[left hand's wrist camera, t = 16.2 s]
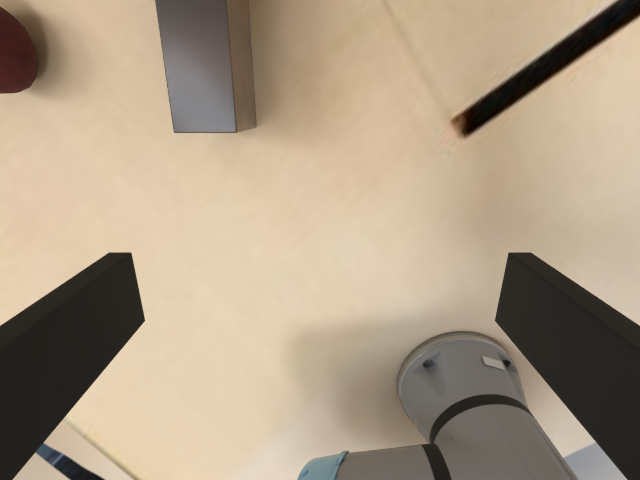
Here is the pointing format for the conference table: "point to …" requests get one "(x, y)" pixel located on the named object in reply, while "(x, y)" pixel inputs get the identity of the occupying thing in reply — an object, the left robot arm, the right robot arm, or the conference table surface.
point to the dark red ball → (15, 55)
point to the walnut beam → (208, 64)
